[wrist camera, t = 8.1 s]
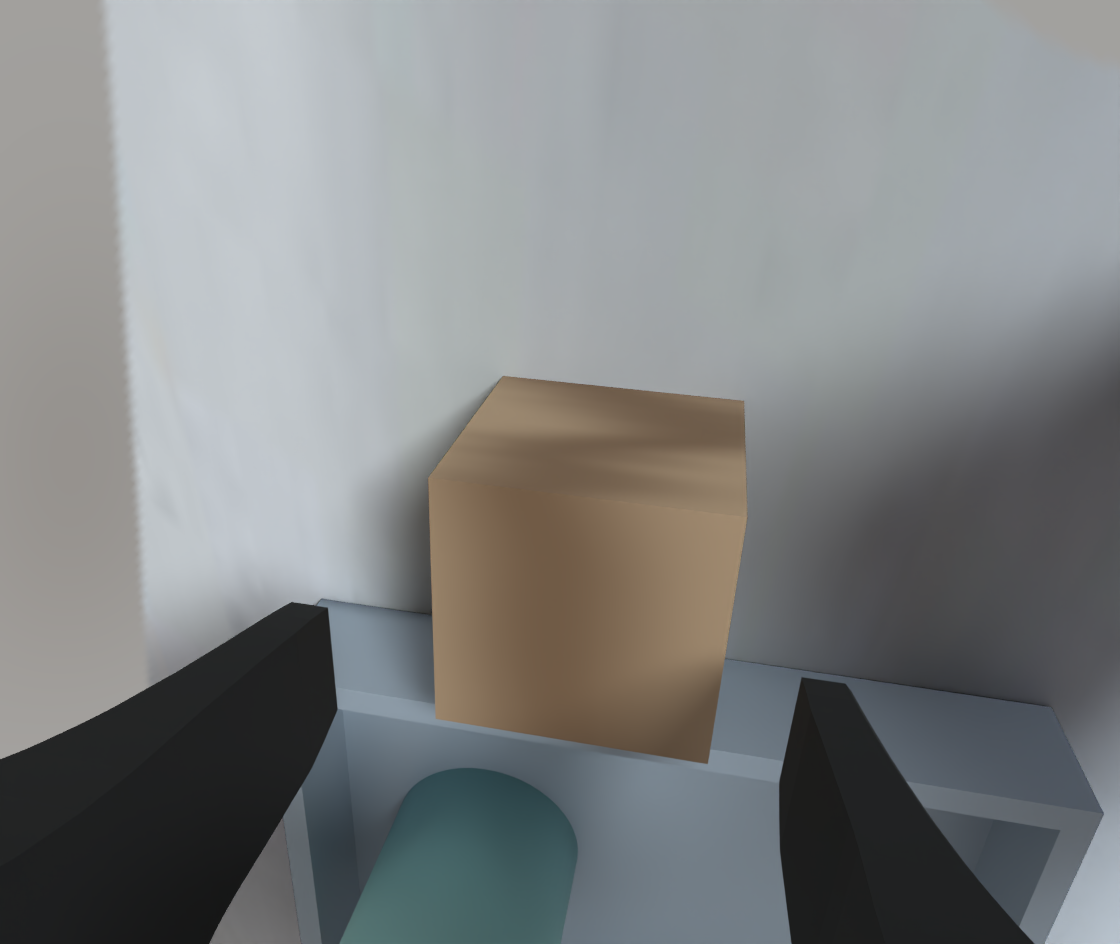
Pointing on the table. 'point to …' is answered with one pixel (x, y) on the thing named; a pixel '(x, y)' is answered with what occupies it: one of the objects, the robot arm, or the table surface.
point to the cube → (588, 564)
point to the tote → (679, 795)
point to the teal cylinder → (470, 866)
